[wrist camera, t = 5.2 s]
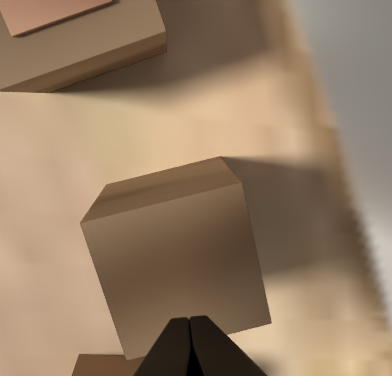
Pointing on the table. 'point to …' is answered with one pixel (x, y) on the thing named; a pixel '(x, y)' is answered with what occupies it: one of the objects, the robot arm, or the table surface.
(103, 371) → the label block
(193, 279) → the plain block
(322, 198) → the table surface
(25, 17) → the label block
